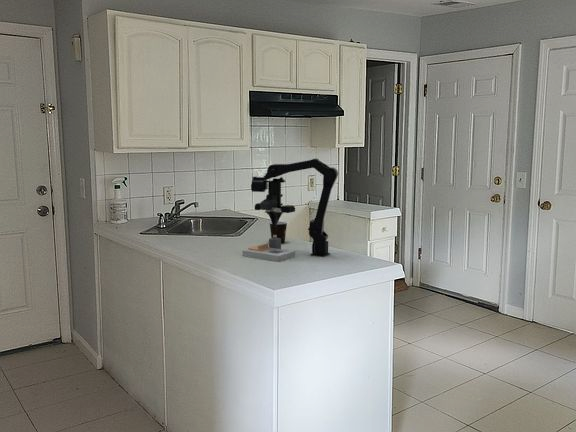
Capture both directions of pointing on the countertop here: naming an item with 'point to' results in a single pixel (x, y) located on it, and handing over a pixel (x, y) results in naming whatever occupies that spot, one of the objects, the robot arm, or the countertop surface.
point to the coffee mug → (279, 230)
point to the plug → (275, 242)
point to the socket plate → (270, 254)
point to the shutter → (259, 247)
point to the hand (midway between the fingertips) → (274, 226)
